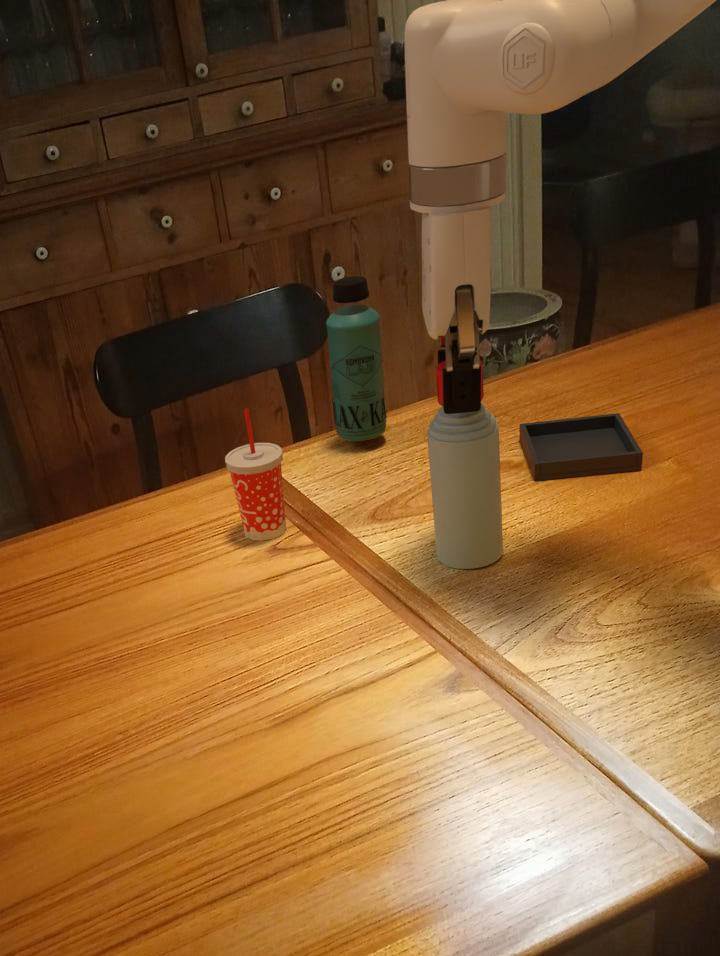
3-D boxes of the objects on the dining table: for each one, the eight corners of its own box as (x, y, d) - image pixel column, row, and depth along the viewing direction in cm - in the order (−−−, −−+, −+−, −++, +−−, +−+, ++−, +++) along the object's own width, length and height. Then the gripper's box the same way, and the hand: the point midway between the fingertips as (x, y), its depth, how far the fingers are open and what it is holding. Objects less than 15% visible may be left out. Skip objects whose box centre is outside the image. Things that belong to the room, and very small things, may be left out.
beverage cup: (232, 525, 110) (211, 406, 102) (285, 512, 110) (268, 393, 103) (244, 549, 105) (223, 425, 97) (299, 535, 105) (282, 412, 98)
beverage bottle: (327, 442, 125) (309, 281, 114) (373, 427, 127) (360, 267, 116) (352, 458, 120) (336, 291, 109) (399, 442, 121) (388, 276, 110)
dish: (618, 429, 115) (619, 412, 114) (641, 470, 106) (643, 452, 104) (519, 440, 117) (519, 423, 115) (534, 481, 107) (534, 463, 106)
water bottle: (498, 533, 99) (491, 353, 89) (507, 565, 94) (500, 377, 84) (434, 541, 100) (420, 363, 90) (439, 572, 95) (424, 387, 85)
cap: (436, 394, 90) (434, 361, 89) (480, 388, 90) (479, 354, 88) (439, 410, 87) (437, 375, 85) (485, 404, 87) (484, 369, 85)
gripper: (403, 169, 86) (410, 373, 96) (416, 212, 72) (424, 443, 82) (491, 158, 85) (489, 365, 95) (522, 198, 71) (516, 435, 81)
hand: (459, 399), depth 89 cm, fingers closed on cap, 4 cm apart
